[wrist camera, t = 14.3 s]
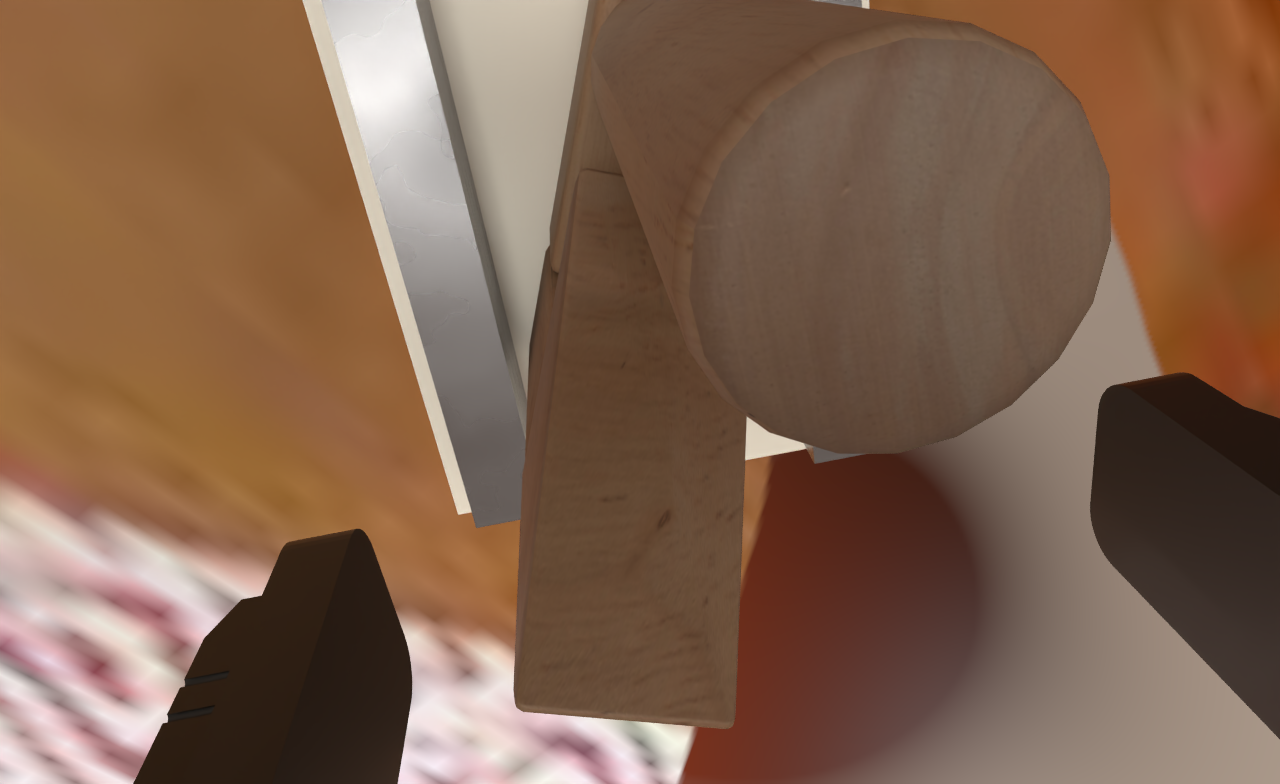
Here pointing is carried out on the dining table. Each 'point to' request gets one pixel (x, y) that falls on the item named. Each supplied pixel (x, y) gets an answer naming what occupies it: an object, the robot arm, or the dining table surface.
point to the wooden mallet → (770, 304)
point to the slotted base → (507, 160)
